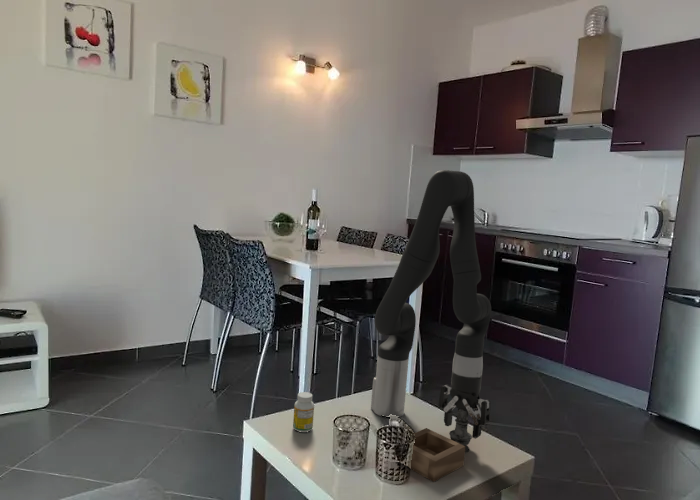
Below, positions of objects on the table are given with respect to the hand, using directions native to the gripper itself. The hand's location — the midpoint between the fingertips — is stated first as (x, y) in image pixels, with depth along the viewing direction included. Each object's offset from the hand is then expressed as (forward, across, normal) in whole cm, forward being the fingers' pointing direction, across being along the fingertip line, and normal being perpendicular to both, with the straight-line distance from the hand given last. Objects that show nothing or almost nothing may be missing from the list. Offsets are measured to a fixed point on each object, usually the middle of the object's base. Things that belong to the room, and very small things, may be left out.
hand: (461, 431), depth 135 cm
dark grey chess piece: (+5, 0, 0) cm, 5 cm away
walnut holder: (+5, 0, -13) cm, 14 cm away
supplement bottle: (+4, -32, -27) cm, 42 cm away
